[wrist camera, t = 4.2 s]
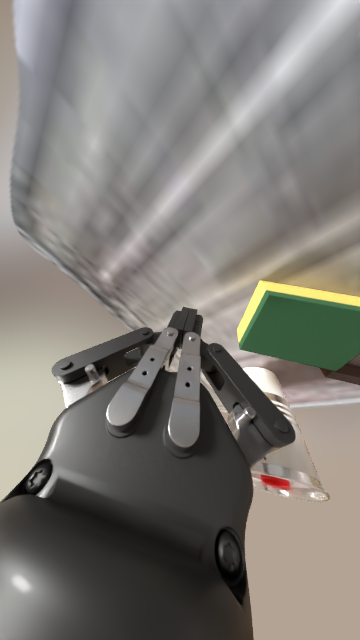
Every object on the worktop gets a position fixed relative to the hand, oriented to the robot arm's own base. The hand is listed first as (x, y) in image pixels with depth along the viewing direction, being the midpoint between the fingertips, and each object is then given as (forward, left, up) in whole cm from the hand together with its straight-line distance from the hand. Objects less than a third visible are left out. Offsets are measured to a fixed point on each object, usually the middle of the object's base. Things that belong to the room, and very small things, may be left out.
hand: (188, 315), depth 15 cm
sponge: (0, +11, -4) cm, 12 cm away
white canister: (+13, +12, -4) cm, 18 cm away
